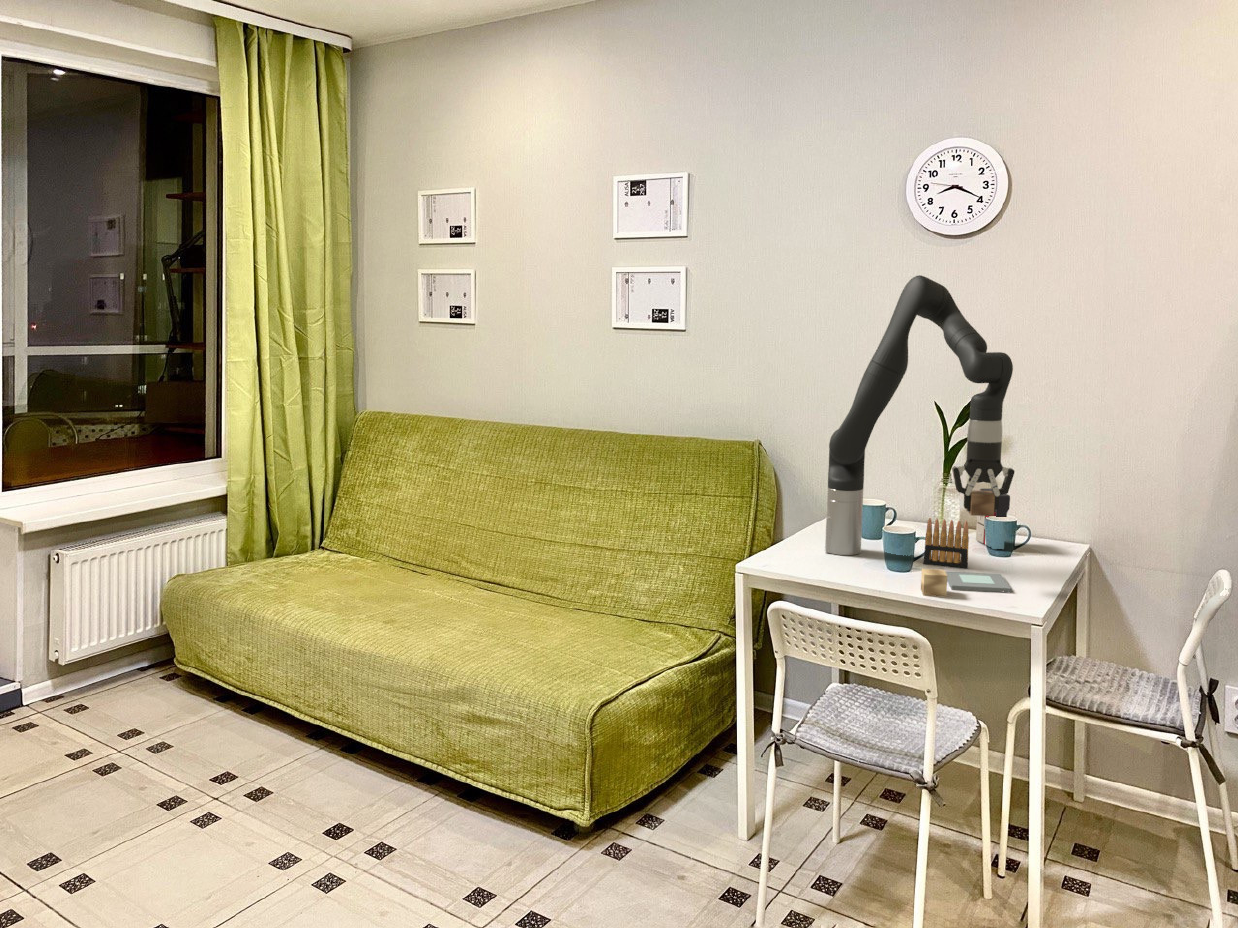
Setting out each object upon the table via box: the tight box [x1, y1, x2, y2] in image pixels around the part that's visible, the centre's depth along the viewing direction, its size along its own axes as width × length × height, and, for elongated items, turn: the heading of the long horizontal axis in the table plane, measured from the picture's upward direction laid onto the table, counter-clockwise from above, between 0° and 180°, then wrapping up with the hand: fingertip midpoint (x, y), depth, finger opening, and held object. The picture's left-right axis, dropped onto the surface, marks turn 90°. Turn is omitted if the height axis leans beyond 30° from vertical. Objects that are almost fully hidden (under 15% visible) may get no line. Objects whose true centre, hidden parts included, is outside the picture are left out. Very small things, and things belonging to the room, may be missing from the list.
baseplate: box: [945, 570, 1012, 593], centre depth 240 cm, size 13×13×1 cm
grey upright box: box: [975, 487, 1011, 546], centre depth 277 cm, size 11×4×15 cm, turn 5°
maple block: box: [920, 568, 948, 598], centre depth 232 cm, size 5×5×5 cm
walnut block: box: [967, 490, 995, 517], centre depth 237 cm, size 5×5×5 cm
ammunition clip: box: [922, 517, 970, 570], centre depth 255 cm, size 11×2×12 cm, turn 65°
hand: (980, 510), depth 237 cm, fingers closed on walnut block, 5 cm apart
